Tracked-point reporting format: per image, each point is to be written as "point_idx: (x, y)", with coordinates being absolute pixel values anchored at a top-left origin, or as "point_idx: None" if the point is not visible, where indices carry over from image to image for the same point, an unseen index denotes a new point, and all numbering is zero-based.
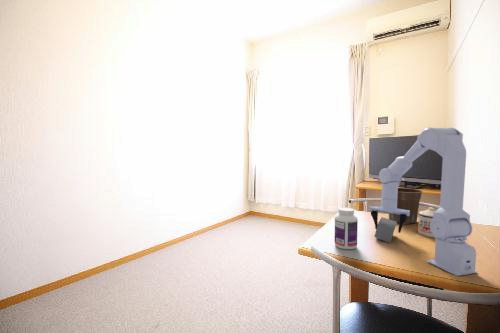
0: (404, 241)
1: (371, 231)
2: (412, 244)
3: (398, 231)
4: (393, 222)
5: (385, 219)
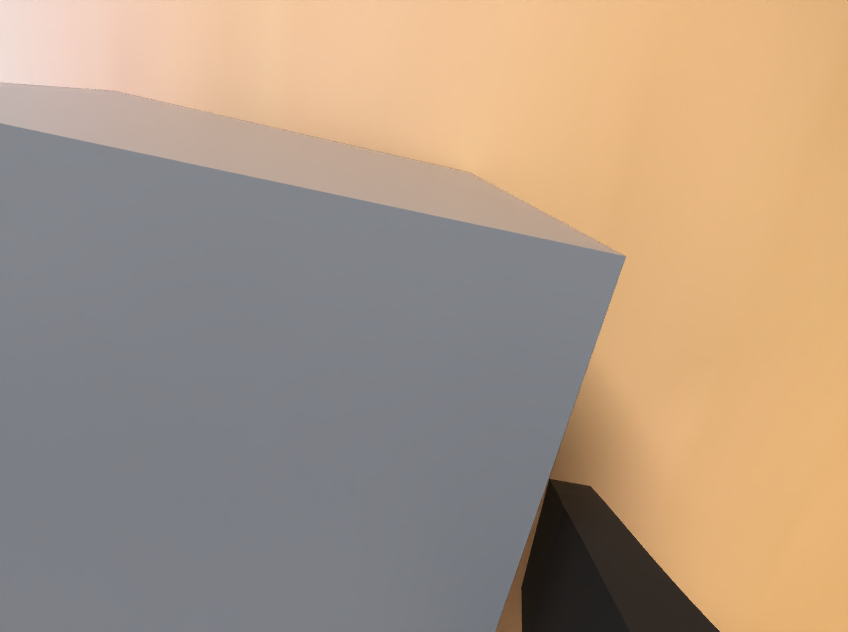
0: (613, 499)
1: (19, 47)
2: (706, 603)
3: (526, 601)
4: (413, 518)
5: (27, 416)
